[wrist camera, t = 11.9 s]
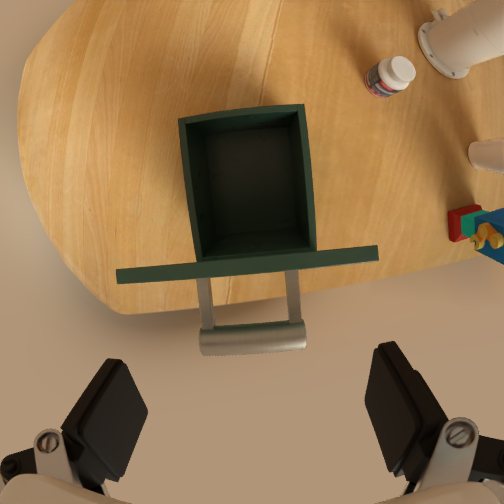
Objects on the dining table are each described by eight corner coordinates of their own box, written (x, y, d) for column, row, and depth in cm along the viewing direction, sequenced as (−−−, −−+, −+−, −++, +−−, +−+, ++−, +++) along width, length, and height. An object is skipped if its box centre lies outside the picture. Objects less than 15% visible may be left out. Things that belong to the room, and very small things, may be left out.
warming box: (200, 132, 38) (177, 118, 27) (291, 121, 37) (304, 103, 26) (213, 239, 43) (197, 264, 31) (301, 230, 42) (317, 253, 31)
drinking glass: (462, 135, 36) (518, 133, 21) (484, 140, 35) (537, 141, 21) (464, 171, 37) (521, 178, 23) (486, 173, 37) (539, 182, 23)
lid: (115, 269, 13) (130, 368, 13) (377, 244, 13) (381, 352, 13) (195, 262, 31) (201, 311, 31) (317, 251, 30) (321, 301, 30)
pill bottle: (363, 93, 35) (386, 78, 27) (364, 66, 34) (385, 46, 25) (392, 102, 35) (420, 90, 27) (392, 74, 34) (418, 59, 25)
